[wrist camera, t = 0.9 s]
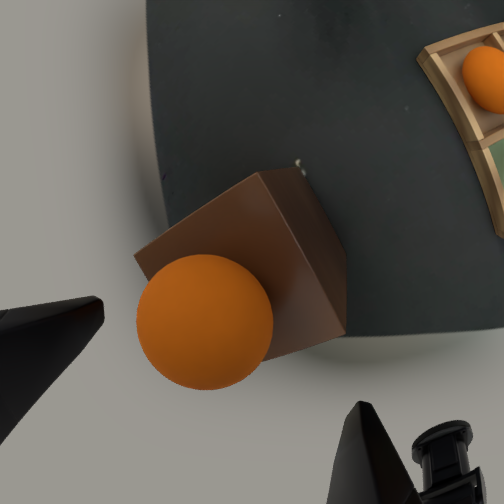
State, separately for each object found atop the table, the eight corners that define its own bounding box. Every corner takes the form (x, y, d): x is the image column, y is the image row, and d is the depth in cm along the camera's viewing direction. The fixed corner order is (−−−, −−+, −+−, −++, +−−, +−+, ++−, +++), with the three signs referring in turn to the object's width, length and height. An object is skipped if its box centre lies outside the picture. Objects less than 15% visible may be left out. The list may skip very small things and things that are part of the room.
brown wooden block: (346, 254, 20) (346, 334, 11) (264, 292, 22) (211, 375, 13) (298, 166, 19) (257, 171, 10) (218, 213, 22) (132, 255, 13)
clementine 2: (513, 107, 11) (546, 99, 7) (474, 126, 13) (506, 120, 9) (482, 51, 11) (508, 31, 7) (441, 67, 13) (464, 45, 9)
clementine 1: (306, 321, 11) (280, 408, 7) (216, 352, 13) (167, 421, 9) (246, 216, 10) (179, 258, 6) (161, 267, 12) (87, 315, 8)
